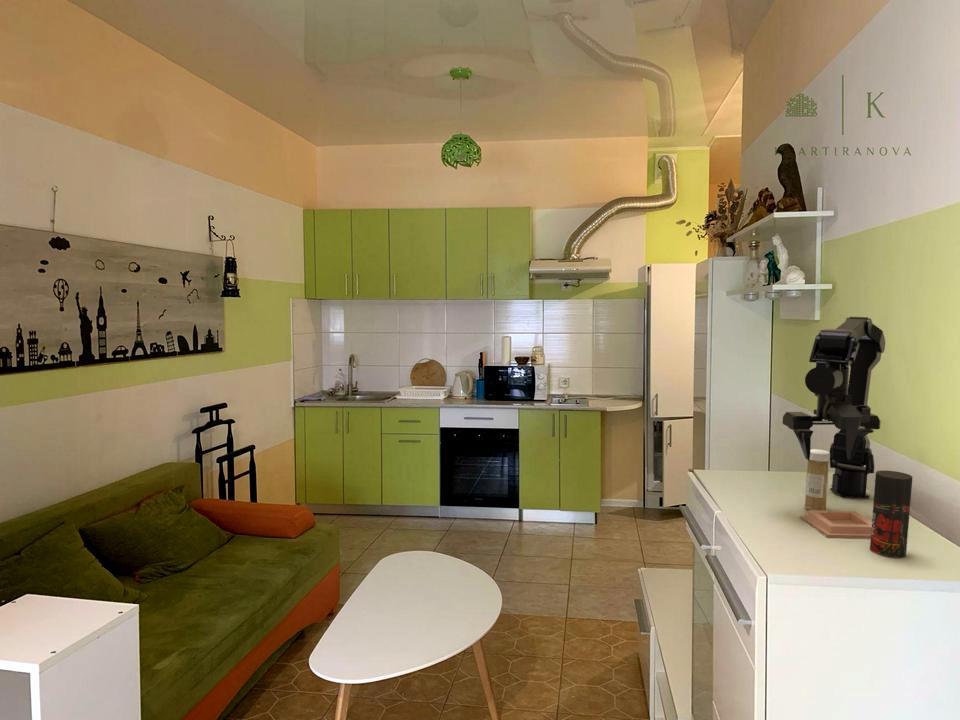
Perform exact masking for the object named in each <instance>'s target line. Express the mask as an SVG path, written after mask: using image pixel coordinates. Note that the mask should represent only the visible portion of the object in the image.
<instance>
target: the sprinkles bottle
mask: <svg viewBox="0 0 960 720" xmlns="http://www.w3.org/2000/svg"><path fill="white" fill-rule="evenodd" d="M829 464H830V451H827V450H825V449H815V448H814V449H812V448H810V459H809V460H807V467H806V468H807V469H806V476H805V477H806V479H805V499H804V500H805V502H804V509H805V510H807V511H808V510H821V511H827V497H828V485H829V484H828V481H829Z"/></svg>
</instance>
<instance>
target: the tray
mask: <svg viewBox="0 0 960 720" xmlns="http://www.w3.org/2000/svg"><path fill="white" fill-rule="evenodd" d="M806 512H807V513H806V514H800V516H799V518H800V517H801V518H802V519H801V518H800V519H801V520H803V519H804V520H805V521H807V522H808V523H810V524H811V525H812V526H814V527H815V528H816V529H817V530H816V529H815V528H814V527H813V528H814V529H815V530H816V531H817V532H819V531H820V532H821V533H820V532H819V533H820V534H821V535H823V534H824V535H825V536H824V535H823V536H824V537H826V538H827V537H830V538H829V539H831V538H832V539H871V528H872V520H870V519H868V518H866V517H864V516H863V515H861V514H860V513H858V512H856V511H855V510H826V511H821V510H808V509H807V511H806ZM804 520H803V521H804ZM805 521H804V522H805ZM807 522H806V523H807ZM808 523H807V524H808ZM810 524H809V525H810ZM811 525H810V526H811ZM812 526H811V527H812Z"/></svg>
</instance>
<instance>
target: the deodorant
mask: <svg viewBox="0 0 960 720" xmlns="http://www.w3.org/2000/svg"><path fill="white" fill-rule="evenodd" d="M912 487H913V476H912V475H910V474H908V473H905V472H901V471H900V472H899V471H894V470H877V471H876V472H875V481H874V492H873V493H874V494H873V505H872V518H871V522H872V528H871V538H870V543H869V550H870V551H871V552H872V553H873V554H876V555H879V556H882V557H886V558H892V559H902V558H906V556H907V549H908V548H907V547H908V538H909V537H908V535H909V524H910V523H909V521H910V512H911V502H912V501H911V499H912V489H913V488H912Z"/></svg>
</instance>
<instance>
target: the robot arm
mask: <svg viewBox="0 0 960 720" xmlns="http://www.w3.org/2000/svg"><path fill="white" fill-rule="evenodd" d="M811 349H812V350H811V353H810V356H809V363H816V365H815V367H813V368H810V370H809V371H807V373H806V375H805V377H804V383H805V387H806V388H807V389H808V391H809V392H811V393H812V394H814V396H815V397H817V402H816V403H817V404H816V409H815V408H814V409H813V415H810V414H808V413H805V412H802V411H786V412H785V413H784V414H783V416H782V425H783V426H786V427H788V429H790V430H792V431H793V433H794V435H795V437H796V439H797V440H798V443H799V445H800V448H801V450H802V453H803V456H804V458H805V460H806V461H808V460H809V459H810V450H811V447H812V446H811V445H812V444H811V442H812V441H811V439H812V436H813V433H814V431H813V430H812V427H813V426H814V425H815V426H818V425H819V426H822V425H823V426H824V425H829V426H830V425H831V426H832V425H833V426H834V427H835V428H836V429H838V430H839V431H838V432H836V433H835V434H834V436H833V441H832V443H831V444H830V448H829V453H830V460H829V468H831V469H834V473H833V474H832V484H831V487H830V489H829V490H830V491H832V492H833V493H835V494H837V495H838V496H840V497H842V498H850V499H851V498H853V499H854V498H859V499H860V498H862V499H863V498H864V499H867V498H868V499H870V497H871V496H870V495H869V494H867V484H868V475H869V474H875V458H874V454H873V452H872V449H871V441H870V439H869V437H868V434H872V433H874V432H875V430H880V429H881V421H882V420H880V417H879V416H878V415H877V414H874V413H871V410H872V409H871V407H870V406H869V405H868V400H869V393H870V385H871V377H872V370H873V369H874V368H875V367H876V366H877V365H878V364H879V363H880V361H881V358H882V354H883V353H885V350H886V338H885V335H884V331H883V330H882V329H881V328H879V327H878V326H877V325H875V324H874V323H873V320H872V318H869V317H868V316H849V317H846V318H845V321H844V322H843V323H842V324H840V325H838V326H837V327H836V328H832V329H831V328H829V329H827V328H826V329H821V330H820V331H819V332H818V334H816V336H815V338H814V341H813V344H812V348H811Z"/></svg>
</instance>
